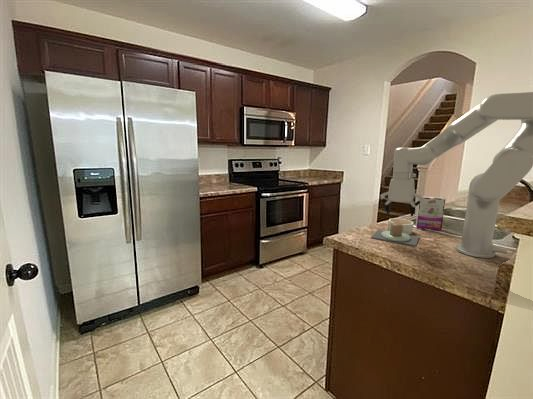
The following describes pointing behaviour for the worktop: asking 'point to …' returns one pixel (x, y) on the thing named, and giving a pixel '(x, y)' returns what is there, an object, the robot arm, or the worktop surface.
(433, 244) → the worktop surface
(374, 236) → the mat
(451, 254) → the worktop surface
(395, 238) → the lid
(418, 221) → the candy bar box
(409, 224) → the bowl
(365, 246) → the worktop surface
